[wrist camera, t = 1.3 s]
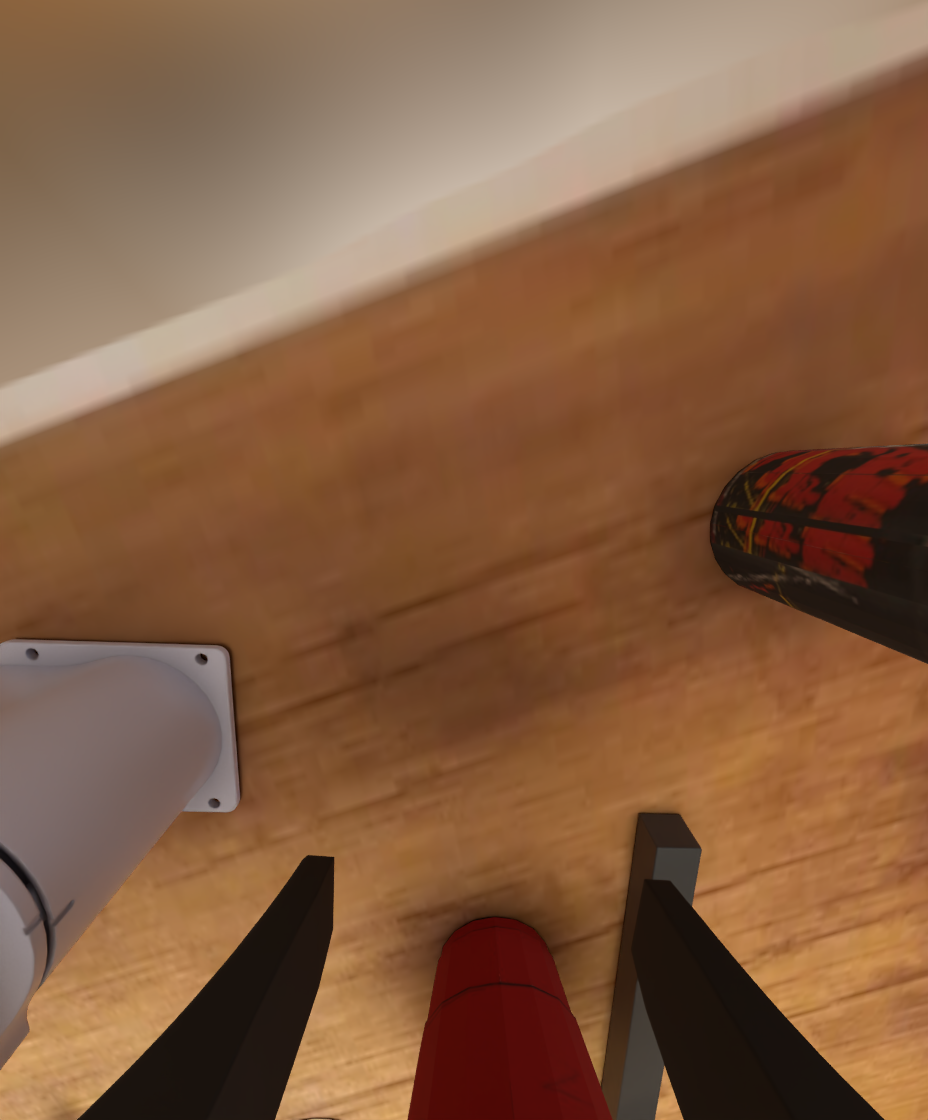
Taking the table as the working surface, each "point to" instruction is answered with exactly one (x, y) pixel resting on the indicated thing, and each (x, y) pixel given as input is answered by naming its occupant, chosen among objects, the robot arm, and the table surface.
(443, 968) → the plastic cup
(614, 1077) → the rail
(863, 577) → the deodorant
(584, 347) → the table surface
